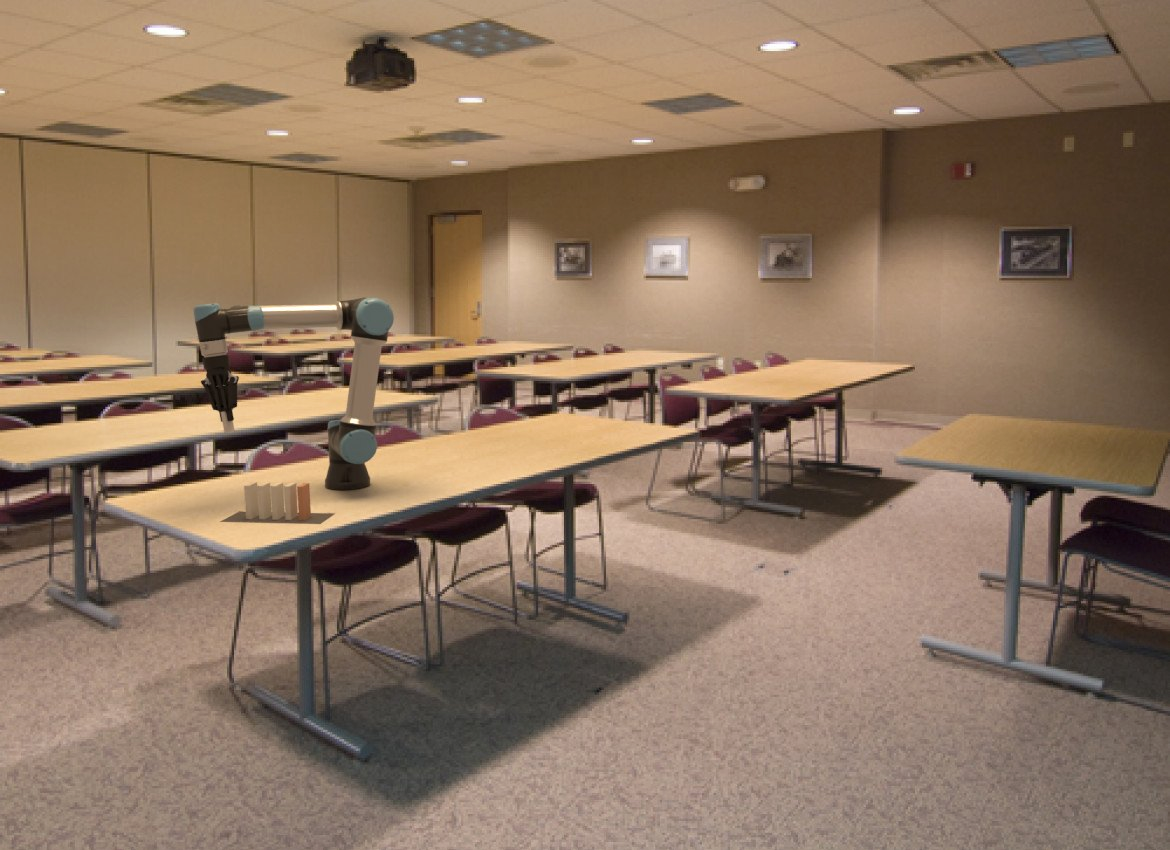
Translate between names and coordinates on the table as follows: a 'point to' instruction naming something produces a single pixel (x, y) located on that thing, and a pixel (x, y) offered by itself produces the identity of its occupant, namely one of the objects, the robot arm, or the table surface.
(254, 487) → the domino
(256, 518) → the mat
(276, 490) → the domino
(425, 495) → the table surface
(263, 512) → the domino
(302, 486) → the domino
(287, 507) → the domino
